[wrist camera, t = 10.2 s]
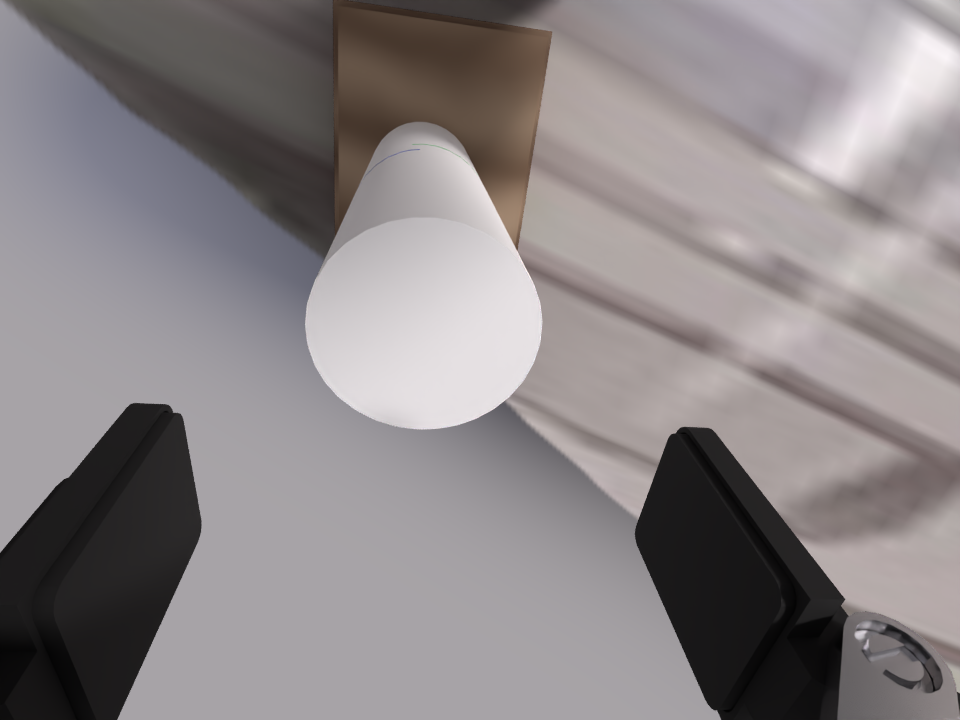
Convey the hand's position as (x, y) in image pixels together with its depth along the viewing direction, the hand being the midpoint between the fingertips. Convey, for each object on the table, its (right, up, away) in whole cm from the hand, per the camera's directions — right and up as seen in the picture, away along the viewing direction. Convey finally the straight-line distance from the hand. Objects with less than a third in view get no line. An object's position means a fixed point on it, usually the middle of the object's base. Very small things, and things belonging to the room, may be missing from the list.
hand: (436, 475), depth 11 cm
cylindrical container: (-3, +15, +28) cm, 32 cm away
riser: (-3, +20, +32) cm, 38 cm away
